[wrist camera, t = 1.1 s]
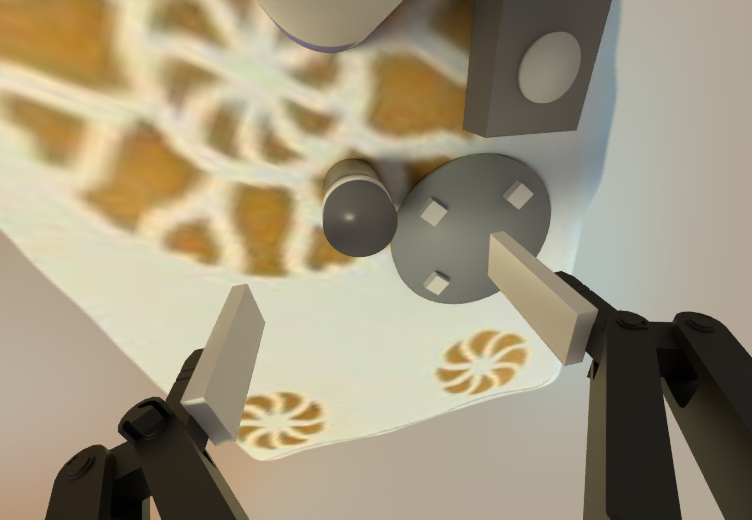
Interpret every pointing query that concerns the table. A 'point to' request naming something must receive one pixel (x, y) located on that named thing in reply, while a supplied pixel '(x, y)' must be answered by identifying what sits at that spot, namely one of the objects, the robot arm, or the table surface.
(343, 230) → the grey rounded cylinder
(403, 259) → the plate
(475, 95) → the camera body block
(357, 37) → the container
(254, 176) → the table surface
